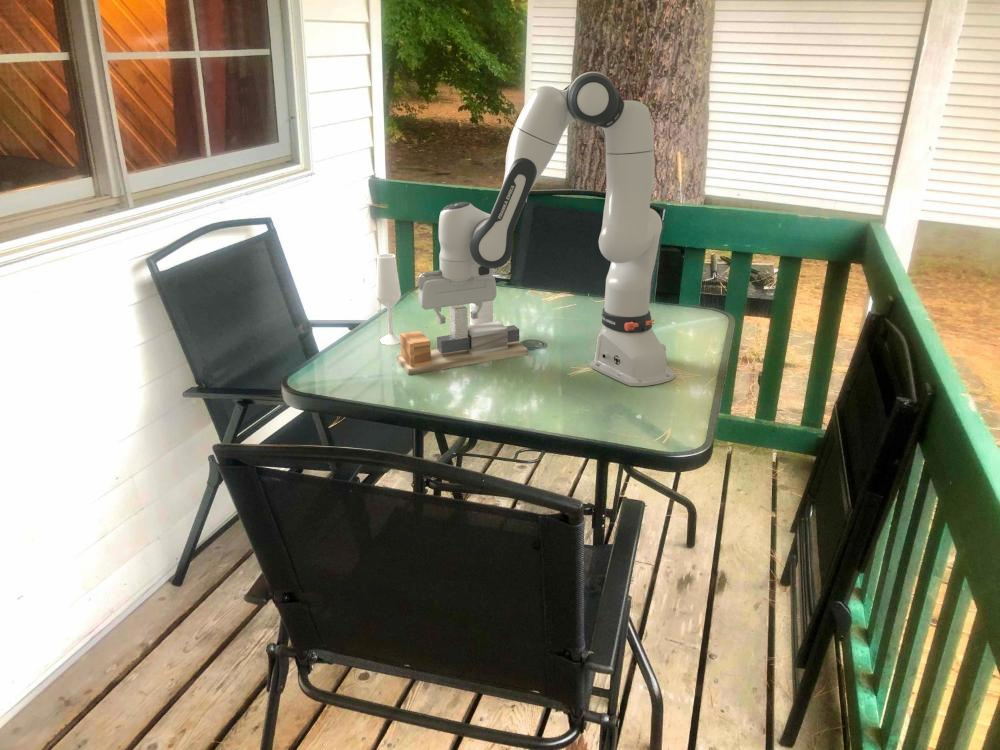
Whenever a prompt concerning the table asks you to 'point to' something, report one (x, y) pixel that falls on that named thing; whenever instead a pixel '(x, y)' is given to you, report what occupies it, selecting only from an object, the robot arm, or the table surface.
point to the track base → (485, 346)
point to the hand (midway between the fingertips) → (458, 320)
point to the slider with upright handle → (464, 332)
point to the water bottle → (483, 313)
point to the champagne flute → (388, 291)
